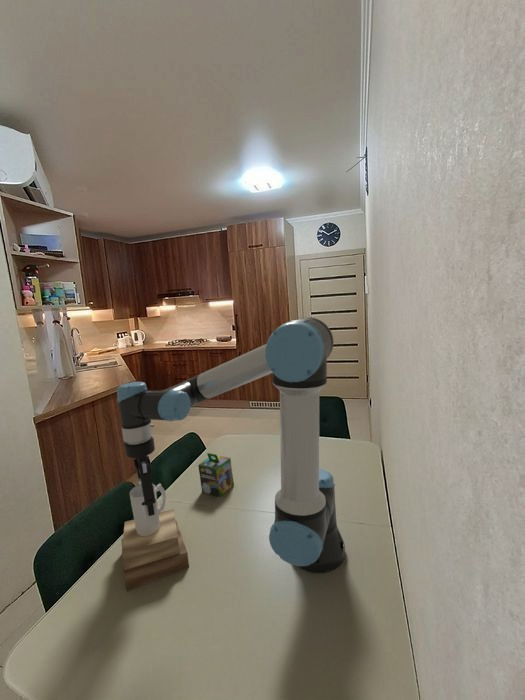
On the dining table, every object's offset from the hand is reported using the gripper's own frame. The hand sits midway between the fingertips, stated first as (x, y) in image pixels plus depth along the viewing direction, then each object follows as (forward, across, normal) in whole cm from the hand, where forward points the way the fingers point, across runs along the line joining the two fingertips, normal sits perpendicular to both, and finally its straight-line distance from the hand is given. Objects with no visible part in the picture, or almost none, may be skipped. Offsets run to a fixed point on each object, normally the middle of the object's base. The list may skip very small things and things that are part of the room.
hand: (149, 511), depth 97 cm
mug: (+5, +1, -1) cm, 5 cm away
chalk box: (+14, +26, -27) cm, 40 cm away
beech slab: (+10, 0, 0) cm, 10 cm away
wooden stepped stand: (+15, 0, 0) cm, 15 cm away
